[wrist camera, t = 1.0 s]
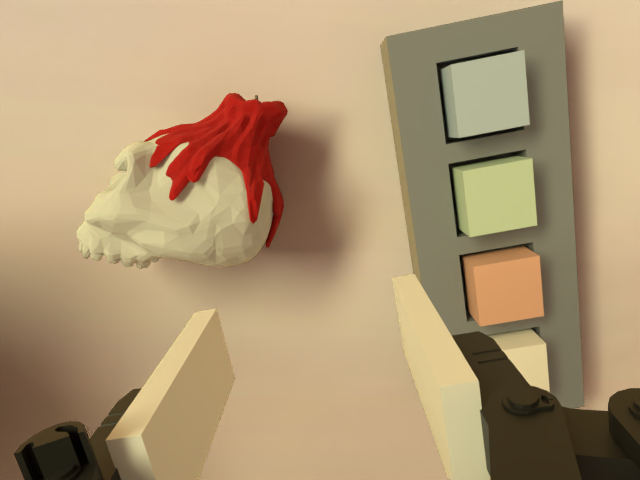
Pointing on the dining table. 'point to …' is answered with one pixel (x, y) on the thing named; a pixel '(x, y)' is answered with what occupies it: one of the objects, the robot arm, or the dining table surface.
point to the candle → (192, 192)
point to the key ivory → (526, 355)
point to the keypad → (526, 141)
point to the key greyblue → (485, 95)
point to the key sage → (495, 195)
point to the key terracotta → (503, 285)
